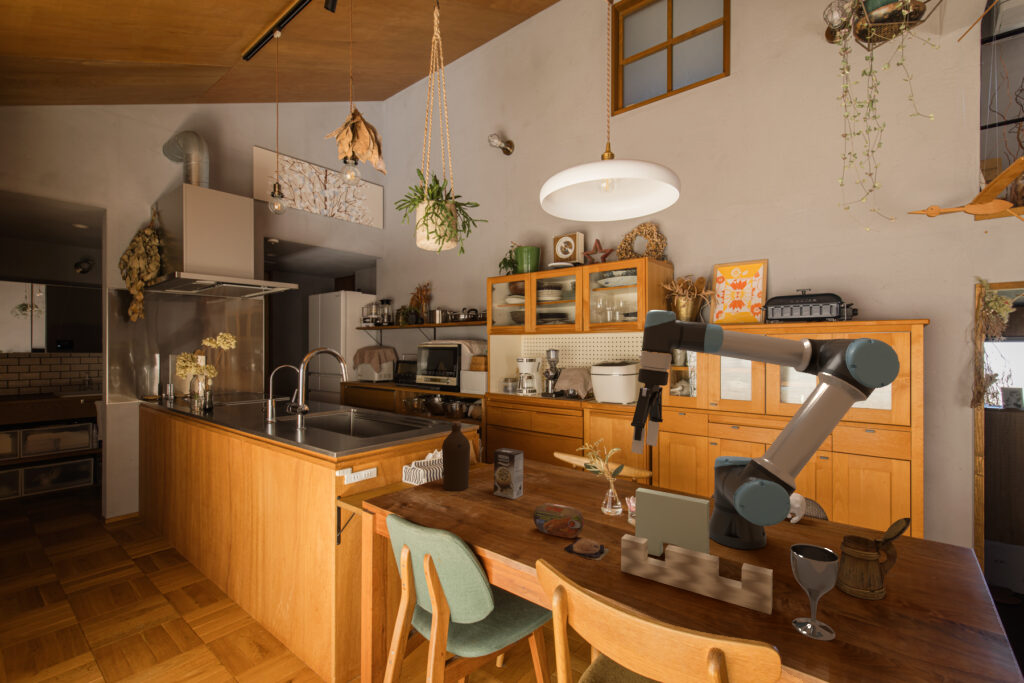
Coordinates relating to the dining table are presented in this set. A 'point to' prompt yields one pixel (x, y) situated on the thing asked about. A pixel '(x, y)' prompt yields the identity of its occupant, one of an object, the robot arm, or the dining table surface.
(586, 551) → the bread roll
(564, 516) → the tin
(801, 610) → the dining table surface
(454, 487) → the olive oil
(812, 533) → the dining table surface
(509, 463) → the coffee box
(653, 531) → the sage board
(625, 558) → the notched fence
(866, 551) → the wooden mug
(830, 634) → the wine glass
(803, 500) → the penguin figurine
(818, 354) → the robot arm
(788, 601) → the dining table surface
